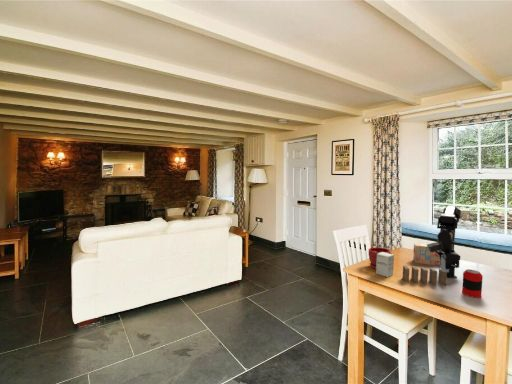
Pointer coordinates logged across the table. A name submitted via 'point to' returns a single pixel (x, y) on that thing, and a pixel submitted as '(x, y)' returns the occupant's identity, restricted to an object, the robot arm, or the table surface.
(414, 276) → the domino
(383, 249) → the plant pot
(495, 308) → the table surface
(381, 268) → the supplement box
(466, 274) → the soda can
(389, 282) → the table surface
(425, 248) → the printed cardboard carton
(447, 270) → the domino
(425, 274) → the domino
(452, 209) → the robot arm
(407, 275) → the domino
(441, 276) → the domino
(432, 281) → the domino
